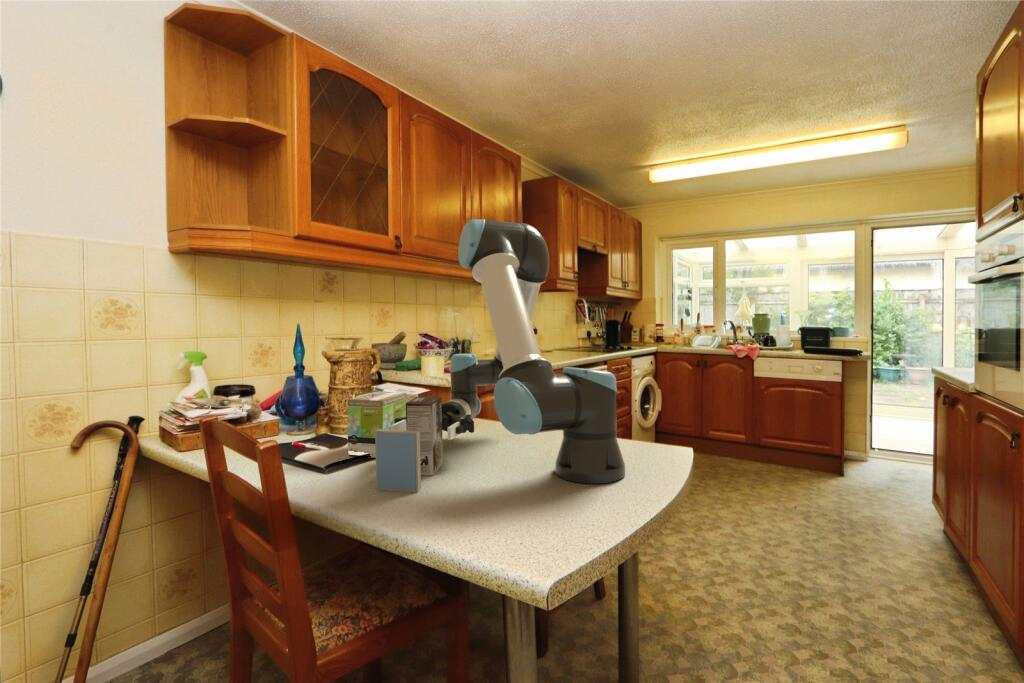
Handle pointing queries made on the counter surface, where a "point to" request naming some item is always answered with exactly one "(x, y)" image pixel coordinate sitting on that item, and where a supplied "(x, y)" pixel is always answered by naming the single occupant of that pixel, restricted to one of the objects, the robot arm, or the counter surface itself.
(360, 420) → the tea box
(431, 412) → the coffee box
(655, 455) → the counter surface
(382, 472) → the grey flat piece
